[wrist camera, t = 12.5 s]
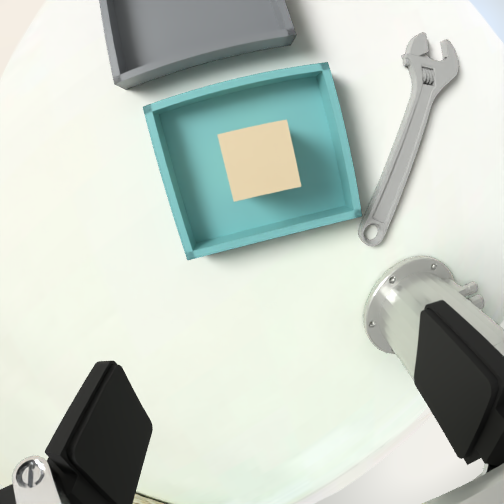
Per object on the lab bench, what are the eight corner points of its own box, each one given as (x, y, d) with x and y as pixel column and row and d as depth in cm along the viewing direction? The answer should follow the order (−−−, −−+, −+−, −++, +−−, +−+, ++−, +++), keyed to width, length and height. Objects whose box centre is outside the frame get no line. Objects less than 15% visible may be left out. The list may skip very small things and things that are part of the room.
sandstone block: (276, 125, 27) (286, 119, 21) (288, 178, 28) (301, 186, 23) (221, 137, 27) (217, 134, 21) (234, 190, 28) (233, 201, 23)
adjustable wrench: (372, 246, 32) (379, 252, 30) (322, 220, 31) (326, 225, 29) (455, 57, 25) (464, 54, 23) (412, 23, 24) (420, 19, 22)
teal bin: (319, 69, 26) (327, 62, 23) (351, 209, 30) (362, 216, 27) (151, 110, 26) (142, 106, 23) (192, 249, 31) (187, 260, 28)
